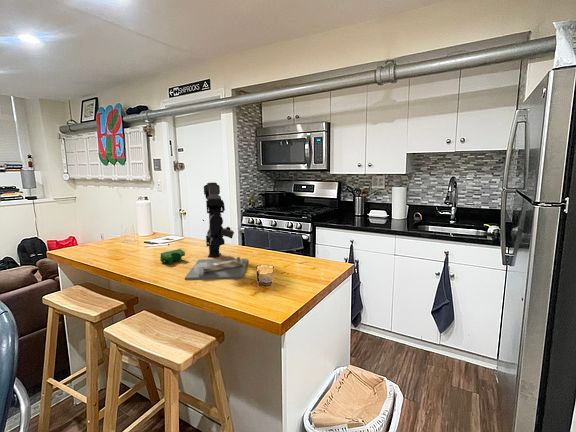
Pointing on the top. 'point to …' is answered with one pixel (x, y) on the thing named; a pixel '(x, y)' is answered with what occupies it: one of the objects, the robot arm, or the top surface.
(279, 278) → the top surface
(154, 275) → the top surface
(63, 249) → the top surface
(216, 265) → the link
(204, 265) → the block
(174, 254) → the clamp
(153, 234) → the top surface
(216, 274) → the board
